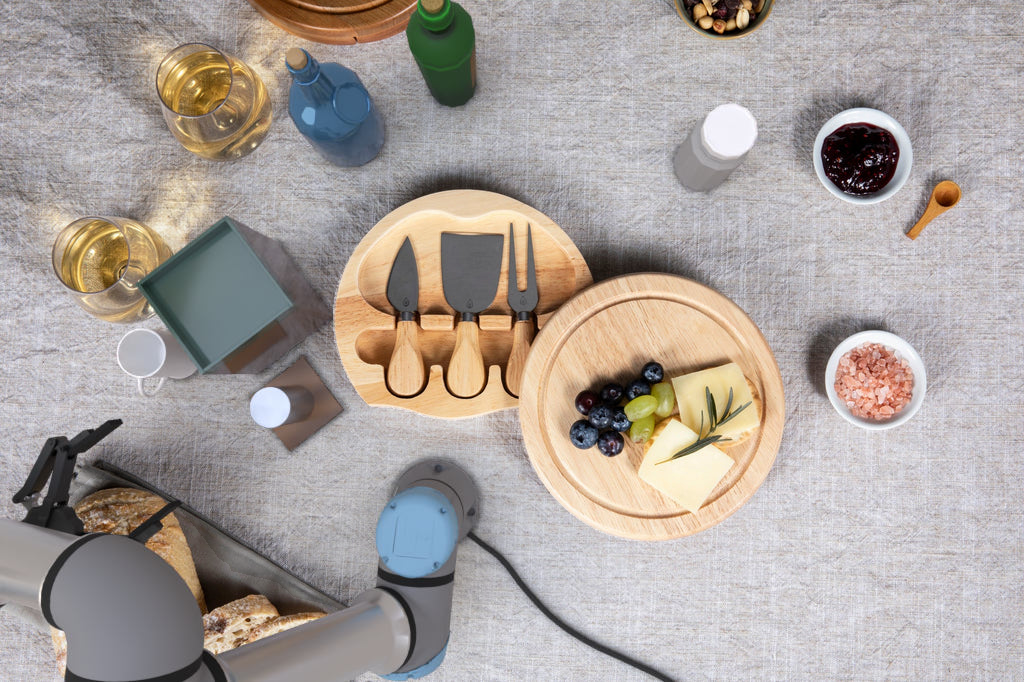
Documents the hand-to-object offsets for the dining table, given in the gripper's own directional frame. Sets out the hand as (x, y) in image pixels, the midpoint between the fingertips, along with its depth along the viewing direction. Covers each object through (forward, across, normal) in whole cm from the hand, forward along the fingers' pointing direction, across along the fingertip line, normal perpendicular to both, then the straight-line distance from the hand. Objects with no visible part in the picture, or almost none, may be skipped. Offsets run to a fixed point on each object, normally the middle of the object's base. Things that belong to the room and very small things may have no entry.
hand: (145, 462), depth 88 cm
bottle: (+69, -28, -30) cm, 80 cm away
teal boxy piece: (+18, -16, -30) cm, 38 cm away
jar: (+95, +11, -30) cm, 100 cm away
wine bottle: (+49, -32, -30) cm, 66 cm away
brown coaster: (+12, +1, -30) cm, 32 cm away
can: (+12, +1, -29) cm, 32 cm away
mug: (-1, -18, -30) cm, 35 cm away
